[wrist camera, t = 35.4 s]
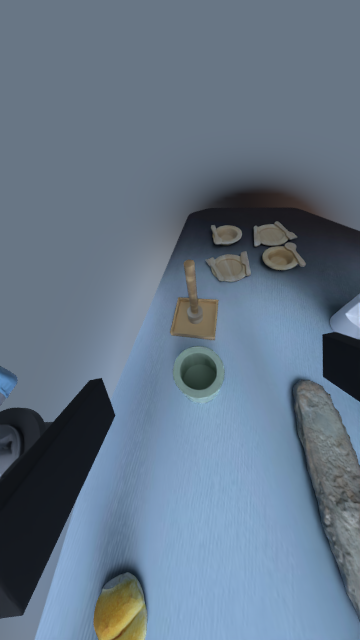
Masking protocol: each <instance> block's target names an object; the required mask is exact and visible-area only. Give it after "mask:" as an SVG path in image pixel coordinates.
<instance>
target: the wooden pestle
mask: <svg viewBox="0 0 360 640" xmlns="http://www.w3.org/2000/svg"><path fill="white" fill-rule="evenodd" d="M184 269H185V275H186V282H187V288H188V295H189V301H190V307H189V308H188V309H187V314H188V319H189V322H190V323H192V324H199V323H200V322H201V321H202V320H203V310H202V308H201V307H200V306H199V305H198V299H197V288H196V276H195V264H194V261H193V260H186V261H185V262H184Z"/></svg>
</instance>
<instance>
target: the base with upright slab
mask: <svg viewBox="0 0 360 640" xmlns="http://www.w3.org/2000/svg"><path fill="white" fill-rule="evenodd" d="M330 326H331V328H332V329H333V331H334V332H338V333H341V334H344V335H347V336H350V337H353V338H356V339H359V340H360V294H358V295H357V296H356V297H355V298H354V299H352V300H351V301H350V302H349V303H347V304H346V305H345V306H344V307H342V308H341V309H340V310H339V311H338V312H336V313H335V314H334V315H333V316H332V317H331V319H330Z"/></svg>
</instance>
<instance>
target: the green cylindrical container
mask: <svg viewBox="0 0 360 640" xmlns="http://www.w3.org/2000/svg"><path fill="white" fill-rule="evenodd" d="M173 378H174V381H175V383H176V385H177V387H178V388H179V389H180V390H181V391H182V393H183V394H184V395H185V396H186V397H187V398H188V399H189V400H191V401H192V402H194V403H198V404H205V403H208V402H210V401H212V400H213V399H214V398H215V397H216V396H217V395H218V393H219V390H220V388H221V385H222V382H223V380H224V366H223V363H222V361H221V359H220V358H219V356H218V355H217V354H216V353H215V352H214V351H213V350H211V349H208V348H206V347H200V346H195V347H190V348H188V349H186V350H184V351H183V352H182V353H181V354H180V355H179V356H178V357H177V359H176V361H175V363H174V367H173Z"/></svg>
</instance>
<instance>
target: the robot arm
mask: <svg viewBox="0 0 360 640" xmlns="http://www.w3.org/2000/svg"><path fill="white" fill-rule="evenodd" d="M323 377H324V378H326V379H327V380H329V381H330V382H332V383H333V384H335V385H336V386H337V387H339V388H340V389H342V390H343V391H345V392H346V393H348V394H349V395H351V396H352V397H354V398H355V399H357V400H358V401H359V402H360V340H359V339H356V338H353V337H350V336H347V335H344V334H341V333H338V332H333V333H328V334H323ZM16 384H17V377H16V375H14V374H13V373H11V372H10V371H8V370H7V369H5V368H3V367H1V366H0V405H1V404H2V403H3V402H4V401H5V399H6V398H8V396H9V394H10V392H11V391H12V390H13V388H14V387H15V385H16ZM114 417H115V413H114V410H113V407H112V405H111V402H110V399H109V397H108V394H107V391H106V388H105V386H104V383H103V380H102V378H100V379H94V380H90V381H89V382H88V383H87V384H86V385H85V386H84V387H83V389H82V390H81V391H80V392H79V393H78V394H77V395H76V397H75V398H74V399H73V400H72V401H71V403H69V405H68V406H67V407H66V408H65V409H64V410H63V412H62V413H61V414H60V415H59V416H58V417H57V418H56V419H55V421H54V422H53V423H52V424H51V425H50V426H49V427H48V429H47V430H46V431H45V432H44V433H43V434H42V435H41V437H40V438H39V439H38V440H37V441H36V442H35V443H34V445H33V446H32V447H30V448H29V449H28V450H27V451H25V452H24V437H23V434H22V432H21V430H20V429H19V428H18V427H16V426H14V425H10V424H6V425H0V618H7V617H14V616H22V615H23V614H24V612H25V609H26V607H27V605H28V603H29V601H30V599H31V596H32V594H33V592H34V590H35V588H36V586H37V583H38V581H39V579H40V577H41V575H42V573H43V570H44V568H45V566H46V564H47V562H48V560H49V558H50V555H51V553H52V551H53V549H54V547H55V545H56V543H57V540H58V538H59V536H60V534H61V532H62V530H63V527H64V525H65V523H66V521H67V519H68V517H69V514H70V512H71V510H72V508H73V506H74V504H75V501H76V499H77V497H78V495H79V493H80V491H81V489H82V486H83V484H84V482H85V480H86V478H87V476H88V473H89V471H90V469H91V467H92V465H93V463H94V460H95V458H96V456H97V454H98V452H99V450H100V447H101V445H102V443H103V441H104V439H105V437H106V435H107V432H108V430H109V428H110V426H111V424H112V422H113V419H114ZM23 452H24V453H23Z"/></svg>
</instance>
